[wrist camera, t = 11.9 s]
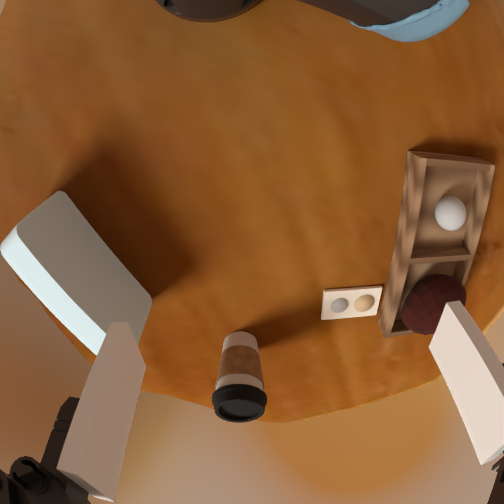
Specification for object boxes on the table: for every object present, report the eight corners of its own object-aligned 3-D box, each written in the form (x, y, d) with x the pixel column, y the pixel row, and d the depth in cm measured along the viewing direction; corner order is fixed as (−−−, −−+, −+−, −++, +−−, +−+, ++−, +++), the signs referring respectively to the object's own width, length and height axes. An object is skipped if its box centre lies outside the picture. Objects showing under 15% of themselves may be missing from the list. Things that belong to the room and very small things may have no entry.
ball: (432, 190, 41) (449, 204, 37) (457, 191, 41) (475, 204, 37) (426, 221, 44) (442, 237, 39) (451, 221, 43) (468, 236, 39)
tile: (323, 289, 51) (324, 292, 50) (381, 285, 51) (382, 288, 50) (320, 317, 54) (321, 320, 53) (375, 312, 54) (376, 315, 53)
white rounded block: (41, 208, 43) (-7, 250, 31) (62, 187, 41) (11, 228, 30) (130, 311, 53) (107, 369, 41) (153, 298, 51) (133, 358, 40)
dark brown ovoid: (454, 286, 50) (478, 318, 42) (400, 319, 53) (419, 356, 45) (445, 252, 46) (473, 285, 38) (386, 289, 50) (406, 327, 42)
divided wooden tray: (407, 150, 39) (420, 158, 36) (480, 157, 39) (495, 165, 35) (377, 322, 55) (384, 337, 51) (440, 313, 55) (448, 327, 51)
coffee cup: (273, 335, 56) (278, 407, 43) (249, 362, 59) (250, 430, 46) (230, 319, 54) (225, 392, 41) (209, 348, 57) (202, 417, 44)
